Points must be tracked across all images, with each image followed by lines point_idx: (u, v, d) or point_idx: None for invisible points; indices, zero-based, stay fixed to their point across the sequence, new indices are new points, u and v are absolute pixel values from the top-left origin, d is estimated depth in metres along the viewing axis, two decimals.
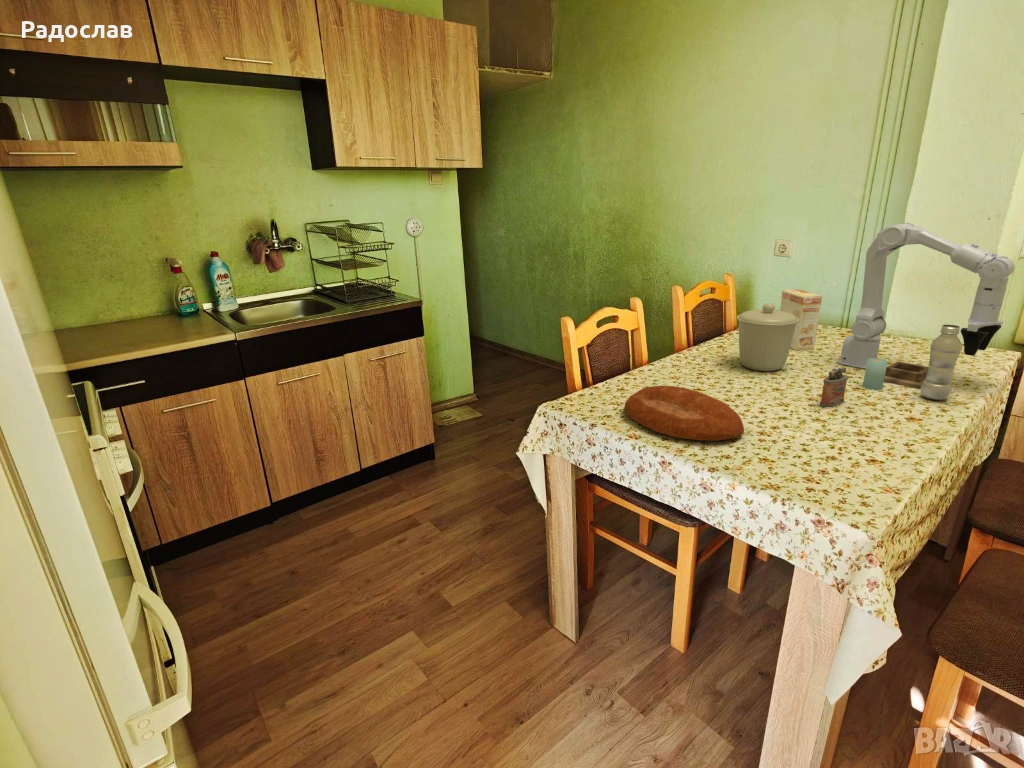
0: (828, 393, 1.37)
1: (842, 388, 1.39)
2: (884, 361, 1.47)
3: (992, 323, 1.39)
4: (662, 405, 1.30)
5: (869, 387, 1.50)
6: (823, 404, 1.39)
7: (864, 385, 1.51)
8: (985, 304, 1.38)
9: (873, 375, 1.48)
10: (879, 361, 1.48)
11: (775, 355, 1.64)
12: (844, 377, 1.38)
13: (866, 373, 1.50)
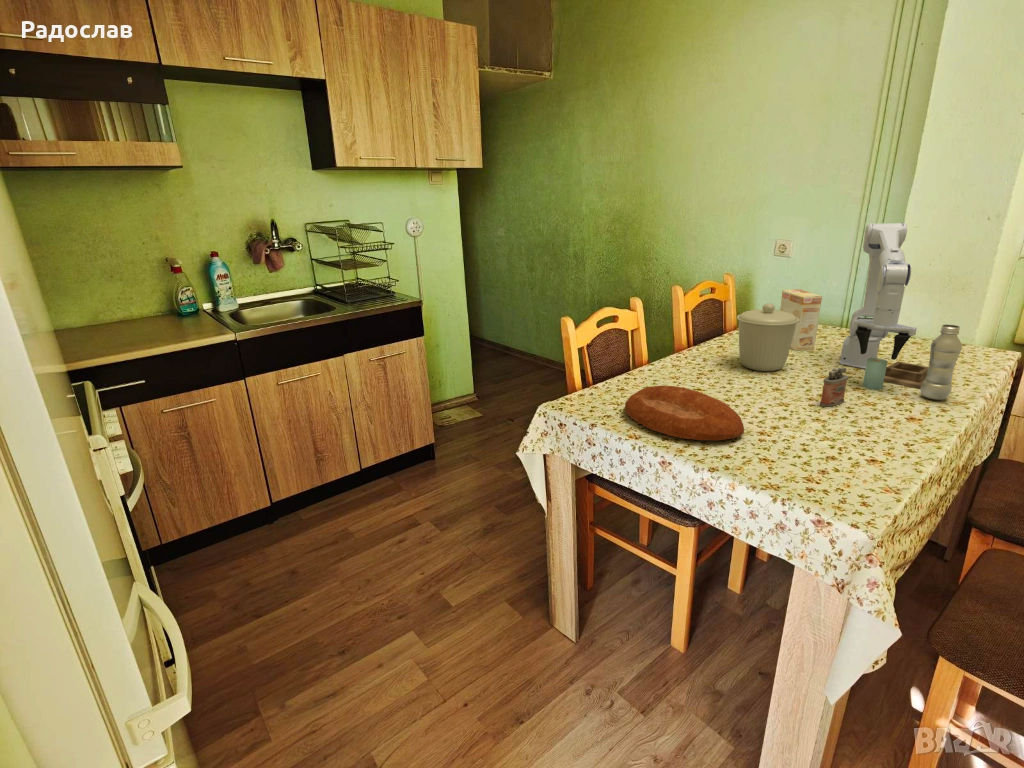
0: (828, 393, 1.37)
1: (842, 388, 1.39)
2: (884, 361, 1.47)
3: (872, 325, 1.45)
4: (662, 405, 1.30)
5: (869, 387, 1.50)
6: (823, 404, 1.39)
7: (864, 385, 1.51)
8: (875, 307, 1.44)
9: (873, 375, 1.48)
10: (879, 361, 1.48)
11: (775, 355, 1.64)
12: (844, 377, 1.38)
13: (866, 373, 1.50)
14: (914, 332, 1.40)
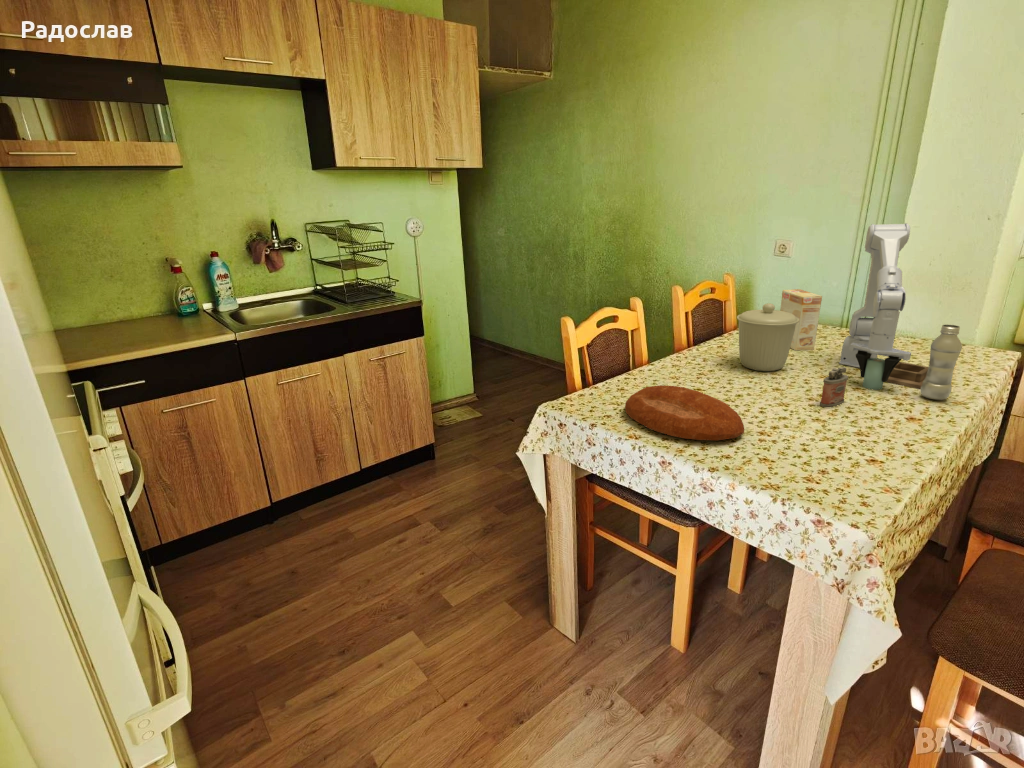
0: (828, 393, 1.37)
1: (842, 388, 1.39)
2: (884, 361, 1.47)
3: (868, 349, 1.47)
4: (663, 405, 1.30)
5: (869, 387, 1.50)
6: (823, 404, 1.39)
7: (864, 385, 1.51)
8: (871, 331, 1.47)
9: (873, 375, 1.48)
10: (879, 361, 1.47)
11: (775, 355, 1.64)
12: (844, 377, 1.38)
13: (866, 373, 1.50)
14: (909, 356, 1.42)
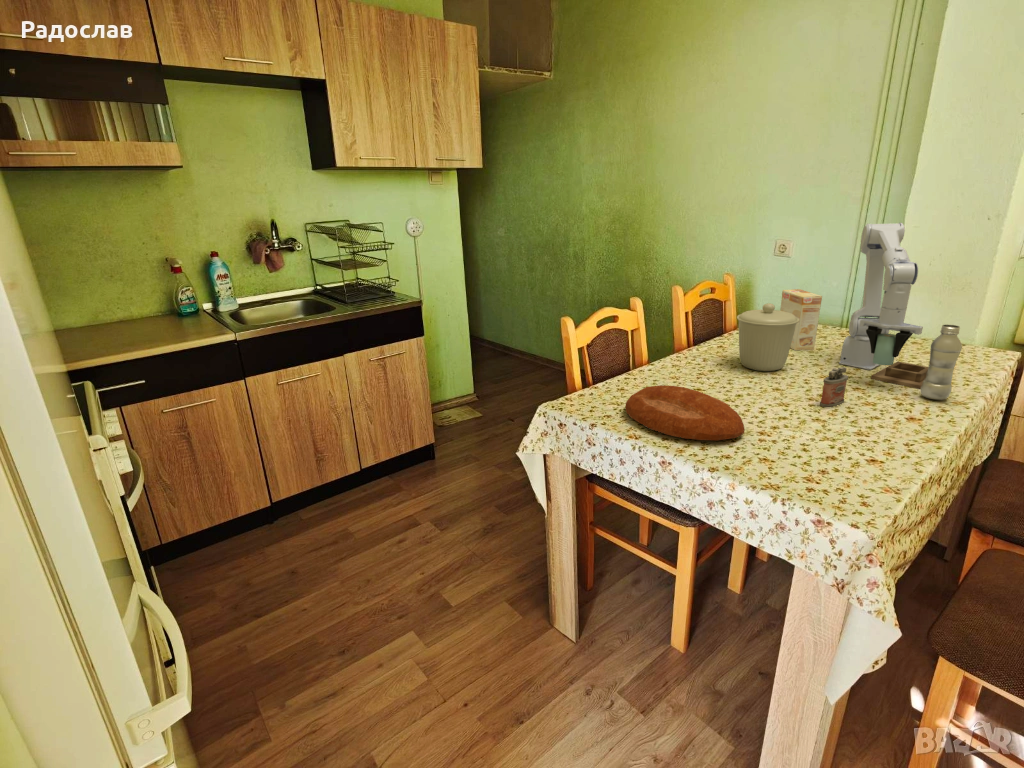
0: (828, 393, 1.37)
1: (842, 388, 1.39)
2: (895, 336, 1.46)
3: (879, 324, 1.46)
4: (663, 405, 1.30)
5: (879, 363, 1.48)
6: (823, 404, 1.39)
7: (874, 361, 1.49)
8: (882, 306, 1.45)
9: (884, 351, 1.47)
10: (890, 336, 1.46)
11: (775, 355, 1.64)
12: (844, 377, 1.38)
13: (876, 348, 1.48)
14: (920, 330, 1.41)
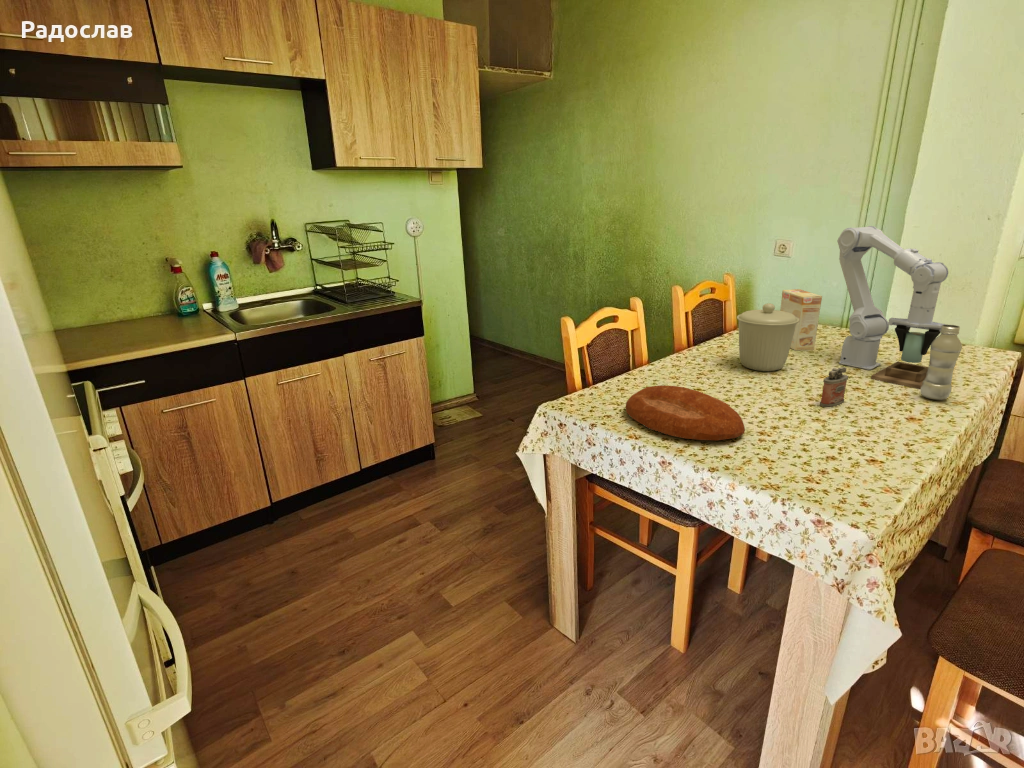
0: (828, 393, 1.37)
1: (842, 388, 1.39)
2: (923, 335, 1.50)
3: (908, 323, 1.50)
4: (663, 405, 1.30)
5: (908, 360, 1.52)
6: (823, 404, 1.39)
7: (903, 358, 1.54)
8: (916, 306, 1.47)
9: (913, 349, 1.51)
10: (918, 334, 1.50)
11: (775, 355, 1.64)
12: (844, 377, 1.38)
13: (905, 347, 1.53)
14: None
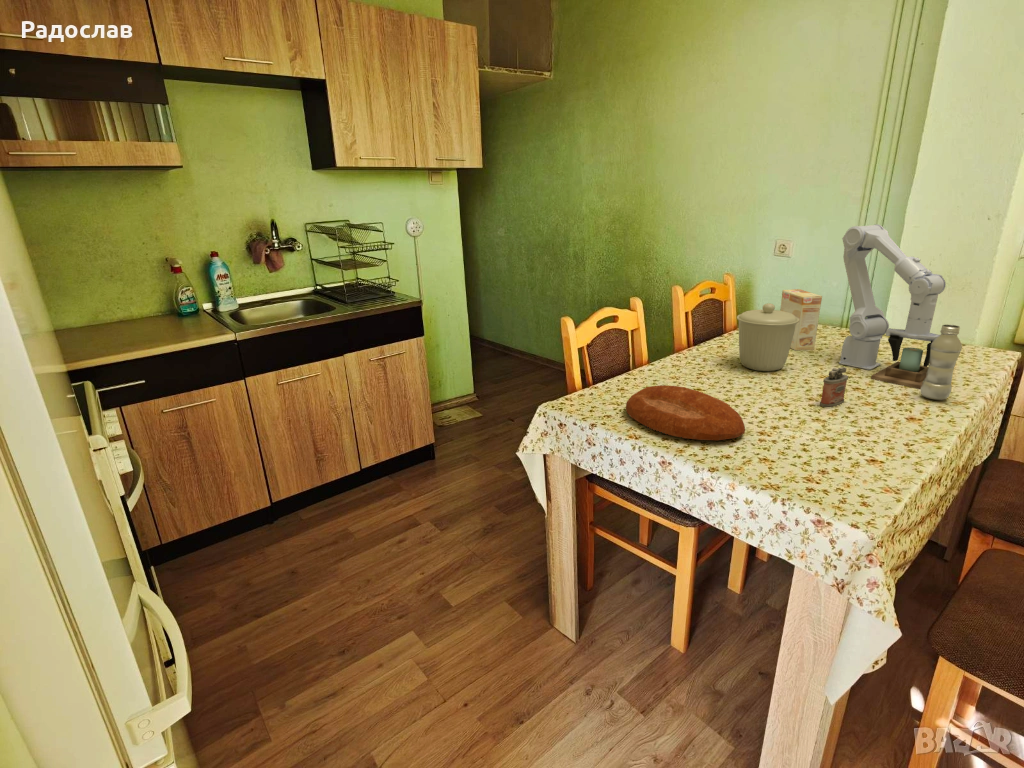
0: (828, 393, 1.37)
1: (842, 388, 1.39)
2: (919, 350, 1.51)
3: (905, 334, 1.51)
4: (663, 405, 1.30)
5: None
6: (823, 404, 1.39)
7: None
8: (913, 318, 1.49)
9: (909, 364, 1.52)
10: (915, 350, 1.52)
11: (775, 355, 1.64)
12: (844, 377, 1.38)
13: (902, 362, 1.54)
14: None
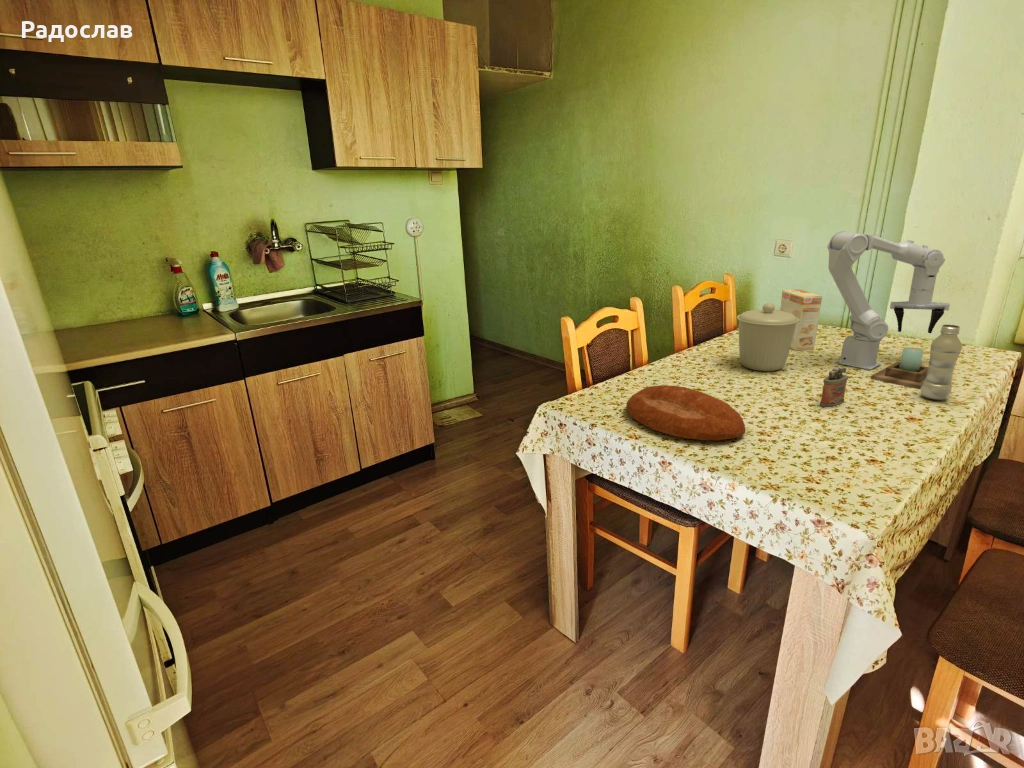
0: (828, 393, 1.37)
1: (842, 388, 1.39)
2: (920, 351, 1.51)
3: (912, 305, 1.61)
4: (664, 405, 1.30)
5: None
6: (823, 404, 1.39)
7: None
8: (929, 289, 1.58)
9: (909, 364, 1.52)
10: (915, 350, 1.52)
11: (775, 355, 1.64)
12: (844, 377, 1.38)
13: (902, 362, 1.54)
14: (948, 306, 1.59)
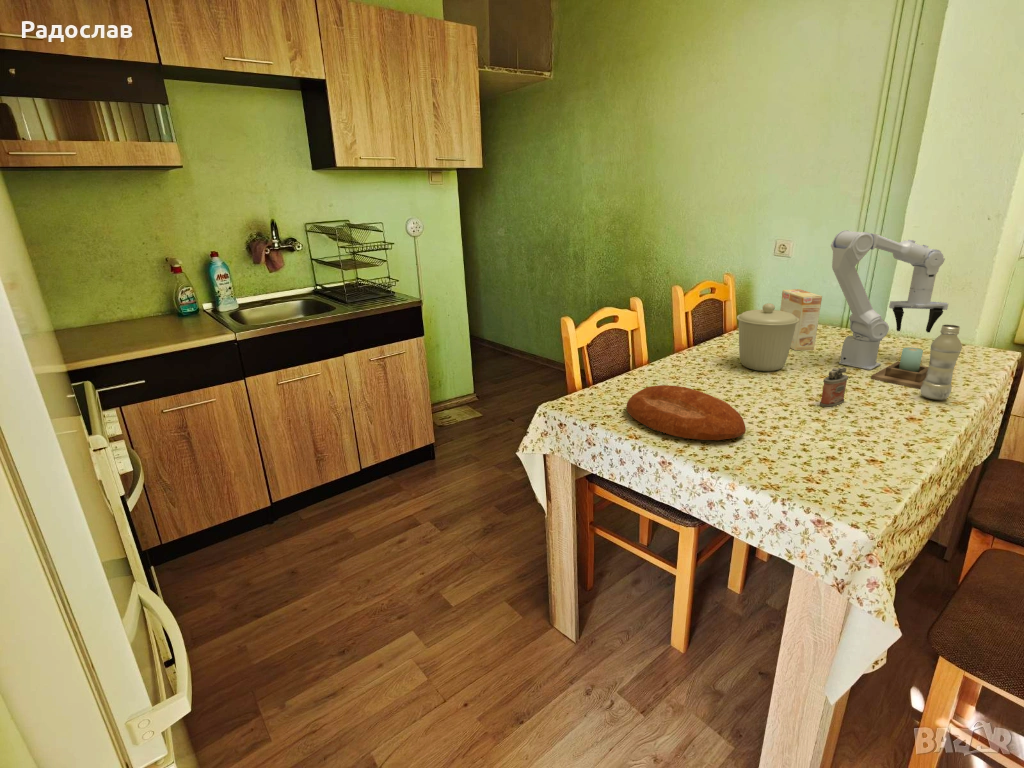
0: (828, 393, 1.37)
1: (842, 388, 1.39)
2: (919, 350, 1.51)
3: (912, 304, 1.62)
4: (664, 405, 1.30)
5: None
6: (823, 404, 1.39)
7: None
8: (929, 289, 1.59)
9: (909, 364, 1.52)
10: (915, 350, 1.52)
11: (775, 355, 1.64)
12: (844, 377, 1.38)
13: (901, 362, 1.54)
14: None
